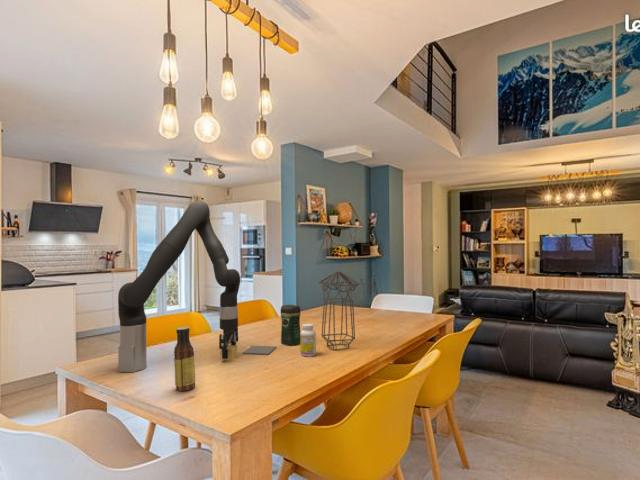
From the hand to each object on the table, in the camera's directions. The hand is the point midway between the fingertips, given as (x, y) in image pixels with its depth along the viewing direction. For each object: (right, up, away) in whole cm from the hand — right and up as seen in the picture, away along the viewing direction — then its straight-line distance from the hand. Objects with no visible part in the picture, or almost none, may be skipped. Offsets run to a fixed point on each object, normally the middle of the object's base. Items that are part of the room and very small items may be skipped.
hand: (229, 355), depth 156 cm
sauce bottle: (-6, -1, -33) cm, 34 cm away
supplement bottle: (+33, -1, +4) cm, 33 cm away
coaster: (+11, -1, +11) cm, 16 cm away
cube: (0, -1, 0) cm, 1 cm away
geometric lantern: (+47, -1, +16) cm, 50 cm away
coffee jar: (+24, -2, +23) cm, 34 cm away
